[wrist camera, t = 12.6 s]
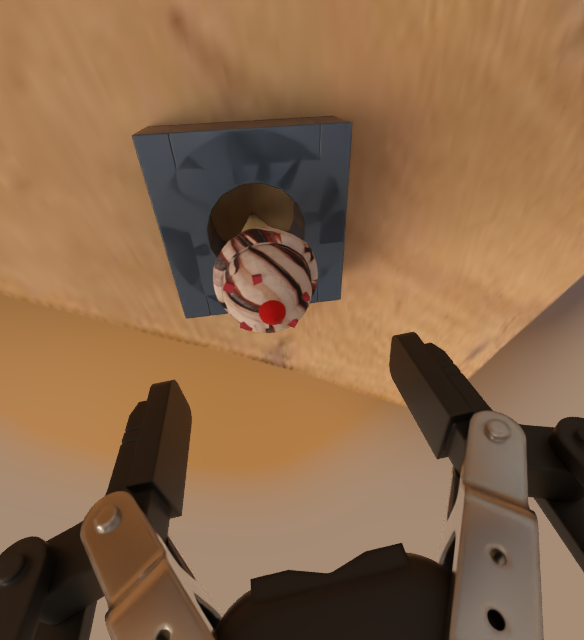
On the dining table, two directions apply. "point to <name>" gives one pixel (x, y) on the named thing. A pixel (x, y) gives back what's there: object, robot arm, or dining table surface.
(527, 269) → the dining table surface
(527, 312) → the dining table surface
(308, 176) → the cone stand
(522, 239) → the dining table surface
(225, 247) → the ice cream cone
